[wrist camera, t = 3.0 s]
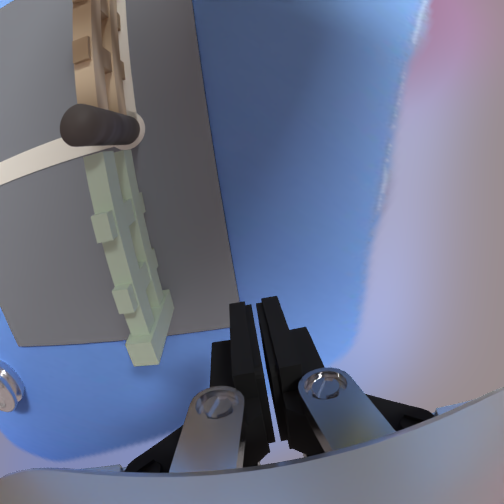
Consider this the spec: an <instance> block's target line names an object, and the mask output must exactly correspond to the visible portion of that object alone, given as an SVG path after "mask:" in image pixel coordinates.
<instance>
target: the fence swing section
mask: <svg viewBox="0 0 504 504" xmlns="http://www.w3.org/2000/svg"><path fill="white" fill-rule="evenodd" d="M83 159H84V165H85V170H86V176H87V181H88V186H89V191H90V195H91V200H92V204H93V209H94V213H95V214H94V215H93V216H91V221H92V225H93V229H94V233H95V236H96V240H97V243H102V245H103V249H104V252H105V256H106V259H107V263H108V266H109V270H110V273H111V276H112V280H113V283H114V286H115V287H114V289H113V290H112V294H113V297H114V300H115V303H116V306H117V309H118V312H119V314H124V316H125V319H126V322H127V324H128V327H129V330H130V334H129V337H128V339H127V341H126V343H125V346H126V348H127V351H128V353H129V356H130V358H131V360H132V363H133V365H134V366H146V365H158V364H159V363H160V359H161V355H162V352H163V348H164V344H165V340H166V337H167V333H168V329H169V326H170V322H171V318H172V315H173V311H174V305H173V301H172V298H171V294H170V290H169V289H168V290H162V287H161V283H160V280H159V276H158V272H157V267H158V262H157V258H156V254H155V250H154V248H151V244H150V240H149V236H148V231H147V227H146V223H145V218H144V213H145V212H146V210H145V206H144V201H143V196H142V192H140V193H139V189H138V184H137V179H136V174H135V169H134V163H133V157H132V152H131V150H121V151H118V152H114V151H103V152H99V153H96V154H92V155H89V156H86V157H83Z"/></svg>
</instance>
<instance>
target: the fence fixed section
mask: <svg viewBox="0 0 504 504" xmlns="http://www.w3.org/2000/svg"><path fill="white" fill-rule="evenodd" d="M72 2H73V41H72V50H73V64H74V72H75V85H76V95H77V104H76V105H73V106H72V107H70V108H69V109H68V110H67V111H66V112H65V113H64V115H63V117H62V119H61V122H60V134H61V137H62V139H63V141H64V142H65V143H66V144H68V145H69V146H73V147H83V146H107V145H129V144H131V143H133V142H134V141H135V140H136V139H137V138H138V136H139V133H140V125H139V123H138V121H137V120H136V119H135V118H134V117H131V116H128V115H127V113H126V105H125V98H124V90H123V80H125V71H124V62H122V61H121V60H120V51H119V38H118V31H120V30H121V23H120V15H119V14H118V12H117V3H116V0H72Z"/></svg>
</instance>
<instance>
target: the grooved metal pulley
mask: <svg viewBox="0 0 504 504" xmlns="http://www.w3.org/2000/svg"><path fill="white" fill-rule="evenodd" d="M24 393H25V387H24V384H23V382H22V380H21V378H20V377H19V375H18V374H17V373H16V372H15V370H14V369H13V368H12V367H10V366H9V365H8V364H7V363H5V362H3V361H2V360H0V410H1V411H4V412H11V411H13V410H14V409H15V408H16V407H17V404H18V401H20V400H21V398H22V397H23V395H24Z"/></svg>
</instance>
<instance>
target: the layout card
mask: <svg viewBox="0 0 504 504" xmlns="http://www.w3.org/2000/svg"><path fill="white" fill-rule="evenodd" d="M116 3H117V12H118V14H119V15H120V23H121V30H120V31H118V38H119V51H120V60H121V61H122V62H124V71H125V80H123V90H124V98H125V105H126V113H127V115H128V116H131V117H134V118H135V119H136V120H137V121H138V123H139V125H140V133H139V136H138V138H137V139H136V140H135V141H134V142H133V143H131V144H129V145H107V146H83V147H73V146H69V145H68V144H66V143H65V142H64V141H63V139H62V137H61V134H60V122H61V119H62V117H63V115H64V113H65V112H66V111H67V110H68V109H69V108H70V107H72V106H73V105H76V104H77V95H76V85H75V72H74V64H73V50H72V41H73V2H72V0H14V1H12V2H10V3H9V4H7V5H6V6H4V7H2V8H1V9H0V306H1V309H2V311H3V314H4V316H5V318H6V320H7V323H8V325H9V327H10V329H11V332H12V334H13V336H14V338H15V340H16V342H17V344H18V346H19V347H20V346H48V345H67V344H83V343H96V342H109V341H120V340H127V339H128V337H129V334H130V330H129V327H128V324H127V322H126V319H125V316H124V314H119V312H118V309H117V306H116V303H115V300H114V297H113V294H112V290H113V289H114V287H115V286H114V283H113V280H112V276H111V273H110V270H109V266H108V263H107V259H106V256H105V252H104V249H103V245H102V243H97V240H96V236H95V233H94V229H93V225H92V221H91V216H93V215H94V214H95V213H94V209H93V204H92V200H91V195H90V191H89V186H88V181H87V176H86V170H85V165H84V159H83V157H86V156H89V155H92V154H96V153H99V152H103V151H114V152H118V151H121V150H131V152H132V157H133V163H134V169H135V174H136V179H137V184H138V189H139V193H140V192H142V196H143V201H144V206H145V210H146V212H145V213H144V218H145V223H146V227H147V231H148V236H149V240H150V244H151V248H154V250H155V254H156V258H157V262H158V267H157V272H158V276H159V280H160V283H161V287H162V290H168V289H169V290H170V294H171V298H172V301H173V305H174V311H173V315H172V318H171V322H170V326H169V329H168V333H167V336H168V335H176V334H184V333H192V332H200V331H207V330H214V329H221V328H228V327H230V316H229V304H231V303H237V302H239V296H238V291H237V285H236V279H235V274H234V268H233V263H232V257H231V251H230V245H229V240H228V234H227V228H226V222H225V216H224V210H223V204H222V198H221V192H220V186H219V180H218V174H217V168H216V162H215V155H214V149H213V143H212V136H211V130H210V124H209V117H208V110H207V104H206V97H205V90H204V84H203V77H202V70H201V63H200V56H199V49H198V42H197V34H196V27H195V20H194V12H193V4H192V0H116Z"/></svg>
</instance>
